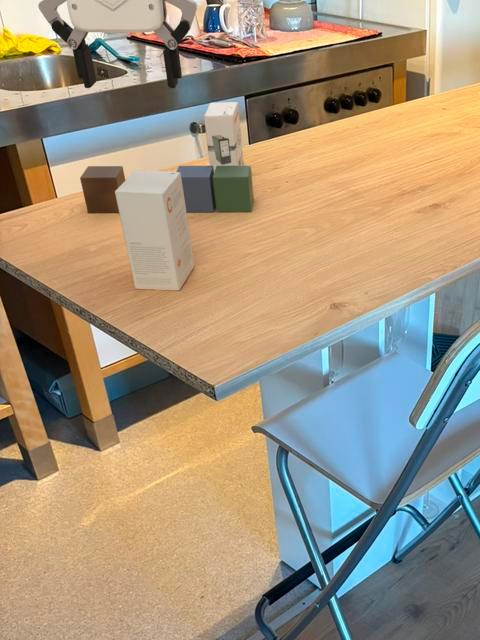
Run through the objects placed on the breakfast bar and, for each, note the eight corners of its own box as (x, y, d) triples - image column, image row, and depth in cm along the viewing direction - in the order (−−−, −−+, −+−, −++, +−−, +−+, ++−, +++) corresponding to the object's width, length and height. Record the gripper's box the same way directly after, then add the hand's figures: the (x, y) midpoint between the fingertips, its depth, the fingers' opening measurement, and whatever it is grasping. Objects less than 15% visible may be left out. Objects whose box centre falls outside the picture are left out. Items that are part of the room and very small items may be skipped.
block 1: (87, 213, 129) (79, 177, 125) (95, 200, 133) (87, 166, 130) (122, 212, 129) (115, 177, 126) (129, 200, 133) (122, 165, 130)
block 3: (216, 212, 130) (212, 177, 126) (220, 200, 134) (216, 165, 131) (251, 212, 130) (248, 176, 127) (253, 199, 134) (250, 165, 131)
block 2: (179, 212, 130) (173, 177, 126) (183, 200, 134) (178, 165, 130) (213, 212, 130) (209, 177, 126) (217, 200, 134) (213, 165, 131)
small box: (151, 264, 115) (134, 169, 106) (195, 266, 114) (181, 171, 106) (133, 289, 108) (113, 190, 100) (179, 291, 108) (163, 192, 100)
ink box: (217, 172, 144) (209, 100, 137) (245, 172, 145) (238, 100, 137) (212, 189, 138) (202, 115, 130) (241, 189, 138) (233, 115, 130)
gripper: (5, -93, 81) (49, 93, 93) (179, -92, 82) (202, 93, 93) (26, -99, 87) (65, 77, 98) (189, -98, 88) (209, 77, 99)
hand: (132, 85), depth 96 cm, fingers open, 9 cm apart
